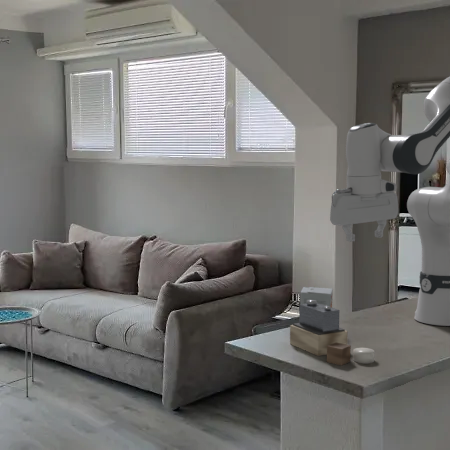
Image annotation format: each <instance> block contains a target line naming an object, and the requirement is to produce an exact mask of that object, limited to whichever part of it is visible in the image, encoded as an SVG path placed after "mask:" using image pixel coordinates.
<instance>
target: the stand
mask: <svg viewBox="0 0 450 450" xmlns="http://www.w3.org/2000/svg"><path fill="white" fill-rule="evenodd" d="M289 329H290V330H289V344H290V346H293V347H296V348H298V347H299V349H300V350H304V351H305V350H306V352H308V353H310V354H313V355H314V356H317V357H320V356H327V346H328V345H331V344H333V343H336V342H337V343H341V344H346V345H348V330H346V329H344V328H342V327H339V330H334V331H328V332H321V331H318V330H316V329H313V328H310V327H308V326H305V325H302V324H300V323H299V322H296V323H292V324H290V325H289Z"/></svg>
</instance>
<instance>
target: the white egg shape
mask: <svg viewBox="0 0 450 450" xmlns="http://www.w3.org/2000/svg"><path fill="white" fill-rule="evenodd" d="M352 351H353V354H352V360H353V362H356V363H357V364H364V365H365V364H373V363H374V362H375V352H376V351H375V350H374V349H372V348H370V347H356V348H353V349H352Z"/></svg>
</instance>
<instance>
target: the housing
mask: <svg viewBox="0 0 450 450" xmlns="http://www.w3.org/2000/svg"><path fill="white" fill-rule="evenodd" d="M298 318H299V319H298V321H299V322H298V323H300V324H302V325H305V326H308V327H310V328H313V329H316V330H318V331H321V332H328V331H334V330H339V328H340V309H337V308H335V307H333V306H332V307H330V306H325V305H322V304H319V303H317V301H316V300H307V303H306V304H299V317H298Z"/></svg>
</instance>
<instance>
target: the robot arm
mask: <svg viewBox="0 0 450 450" xmlns="http://www.w3.org/2000/svg"><path fill="white" fill-rule="evenodd" d="M423 112H424V115H425V117H426V119H427V120H428V121H429V123H428V124H427V126H425V128H424V129H422V131H419V132H417V133H412V134H391V133H388V132H386V131H384V130H383V129H381V128H380V127H379V126H378V124H377V123H374V122H367V123H360V124H356V125H353V126H352V127H350V128H349V129H348V132H347V134H346V143H345V160H346V163H347V171H346V187H345V188H337V189H336V190H335V191H334V192H333V193H332V194H331V205H330V214H329V216H330V217H329V218H330V220H329V221H330V222H331V224H332V226H342V230H343V232H344V234H345V236H346V239H345V240H346V242H349V243H350V242H355V241H356V234H354V233H353V232H352V230H351V229H352V228H353V227H352V226H353V225H354V224H355V225H356V224H357V225H358V224H362V223H370V222H371V223H372V222H376V223H377V225H378V226H377V227H376V230H374V237H375V238H378V239H379V238H383V237H384V229H385V228H386V226H387V220H393V219H396V218H397V217H398V215H399V203H398V202H399V198H398V194H397V193H396V191H397V189H398V188H397V187H398V186H397V185H398V184H397V183H396V182H393V181H389V180H386V179H382V172H390V173H404V174H410V175H419V174H421V173H424V172H425V171H427V169H428V168H429V167H430V165H431V164H432V162H433V161H434V160H433V159H434V158H435V156H436V154H437V153H438V151H439V150H440V149H441V147H443V146H444V144H445V143H446V142H447V141H448V140H449V138H450V75H449V76H448V77H446V78H445V79H443V80H442V81H441V82H440V83H438V84H437V85H436V86H434V88H433V89H431V91H429V92H428V94H427V95H426V96H425V98H424V100H423ZM446 170H447V173H448V176H449V177H448V180H447V183H446V184H445V185H444V186H443V187H440V186H439V187H437V186H425V187H420V188H417V189H415V190H414V191H412V192H411V193H410V195H409V196H408V199H407V202H406V208H407V211H408V213H409V216H410V217H411V218H412V219H413V221H414V222H415V225H416V229H417V231H418V234H419V238H420V244H421V271H420V272H419V285H420V288H419V291H418V296H417V302H416V303H417V305H416V310H415V311H414V317H413V318H414V320H416V321H417V322H420V323H424V324H427V325H433V326H442V327H443V326H444V327H446V326H447V327H449V326H450V158H449V160H448V161H447V163H446Z"/></svg>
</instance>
